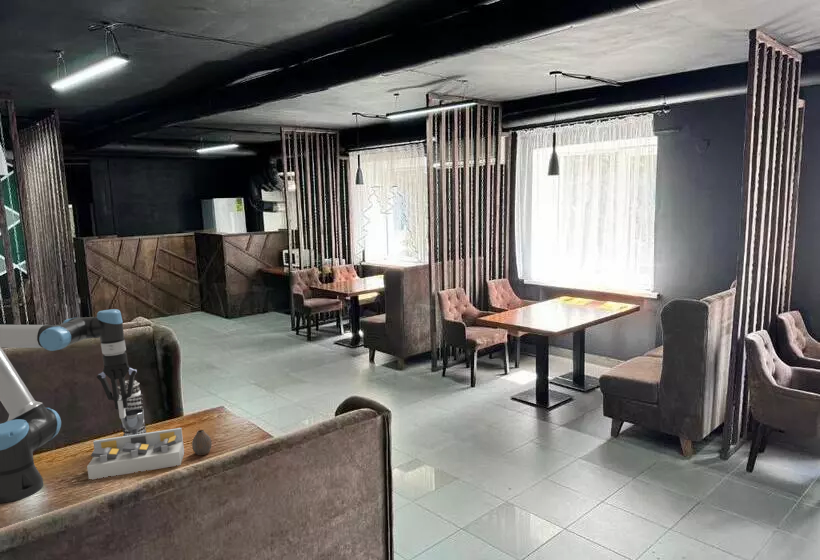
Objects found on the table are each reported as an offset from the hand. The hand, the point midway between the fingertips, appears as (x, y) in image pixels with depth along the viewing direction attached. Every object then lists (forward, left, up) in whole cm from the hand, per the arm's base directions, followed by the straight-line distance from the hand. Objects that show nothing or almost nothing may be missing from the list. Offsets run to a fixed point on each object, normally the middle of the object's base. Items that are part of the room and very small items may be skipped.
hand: (122, 416), depth 201 cm
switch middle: (+3, 0, -12) cm, 13 cm away
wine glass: (-1, +18, -20) cm, 27 cm away
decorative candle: (-3, +27, -20) cm, 34 cm away
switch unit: (+3, 0, -19) cm, 20 cm away
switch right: (+13, 0, -12) cm, 18 cm away
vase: (+25, +3, -20) cm, 32 cm away
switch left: (-7, 0, -12) cm, 14 cm away
